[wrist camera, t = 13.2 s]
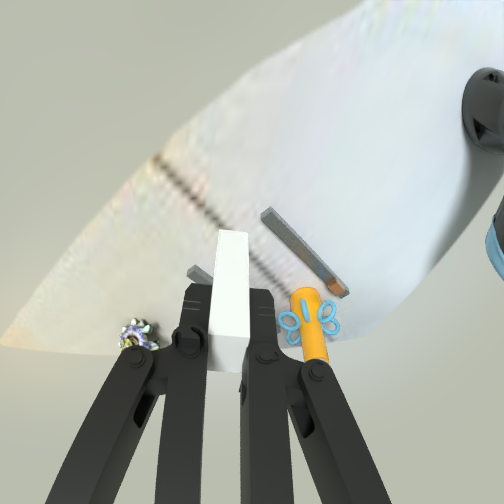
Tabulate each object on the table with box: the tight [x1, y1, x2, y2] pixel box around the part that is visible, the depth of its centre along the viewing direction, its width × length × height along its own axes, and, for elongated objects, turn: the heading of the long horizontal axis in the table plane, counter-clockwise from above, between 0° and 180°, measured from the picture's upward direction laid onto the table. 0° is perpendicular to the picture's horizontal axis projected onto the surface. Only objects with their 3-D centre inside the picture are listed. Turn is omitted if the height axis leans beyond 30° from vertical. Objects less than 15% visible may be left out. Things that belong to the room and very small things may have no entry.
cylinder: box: [278, 287, 340, 364], centre depth 51 cm, size 12×10×15 cm
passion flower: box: [118, 318, 160, 352], centre depth 60 cm, size 11×11×12 cm
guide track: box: [187, 207, 350, 334], centre depth 53 cm, size 24×19×2 cm
